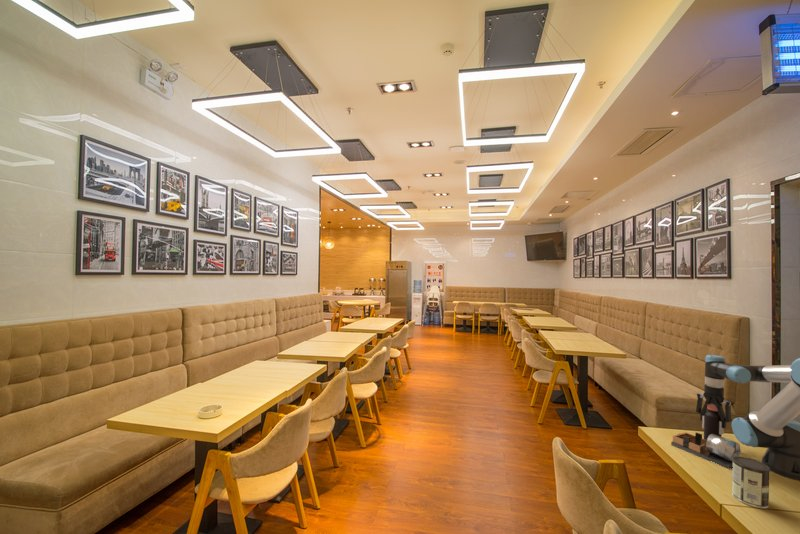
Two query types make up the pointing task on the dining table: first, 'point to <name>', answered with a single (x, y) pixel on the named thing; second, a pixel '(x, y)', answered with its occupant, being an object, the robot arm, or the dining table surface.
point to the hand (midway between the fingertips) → (712, 430)
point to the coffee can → (750, 482)
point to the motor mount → (708, 447)
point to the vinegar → (711, 421)
